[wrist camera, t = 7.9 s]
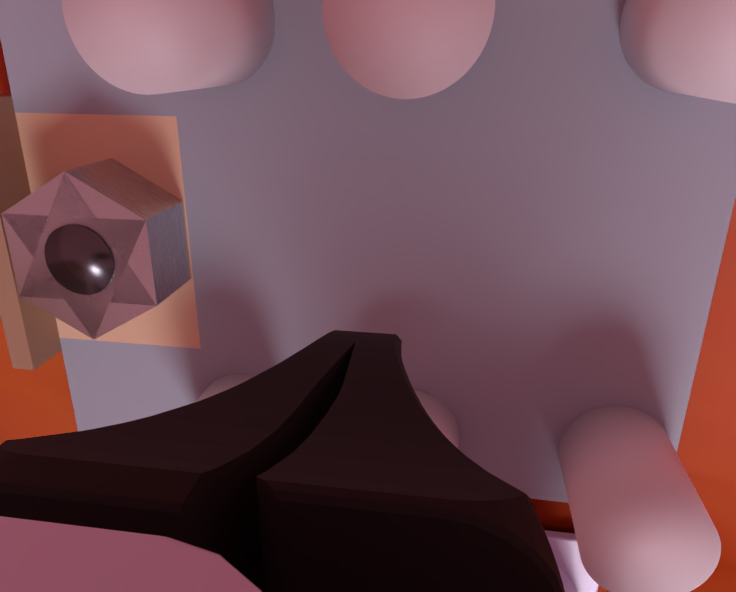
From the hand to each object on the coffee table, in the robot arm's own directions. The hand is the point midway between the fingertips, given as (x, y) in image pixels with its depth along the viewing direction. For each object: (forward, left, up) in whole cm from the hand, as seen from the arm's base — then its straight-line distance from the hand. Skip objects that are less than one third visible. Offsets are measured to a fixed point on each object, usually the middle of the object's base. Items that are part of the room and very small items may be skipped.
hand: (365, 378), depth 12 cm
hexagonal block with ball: (0, +10, -8) cm, 12 cm away
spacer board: (0, +2, -9) cm, 9 cm away
